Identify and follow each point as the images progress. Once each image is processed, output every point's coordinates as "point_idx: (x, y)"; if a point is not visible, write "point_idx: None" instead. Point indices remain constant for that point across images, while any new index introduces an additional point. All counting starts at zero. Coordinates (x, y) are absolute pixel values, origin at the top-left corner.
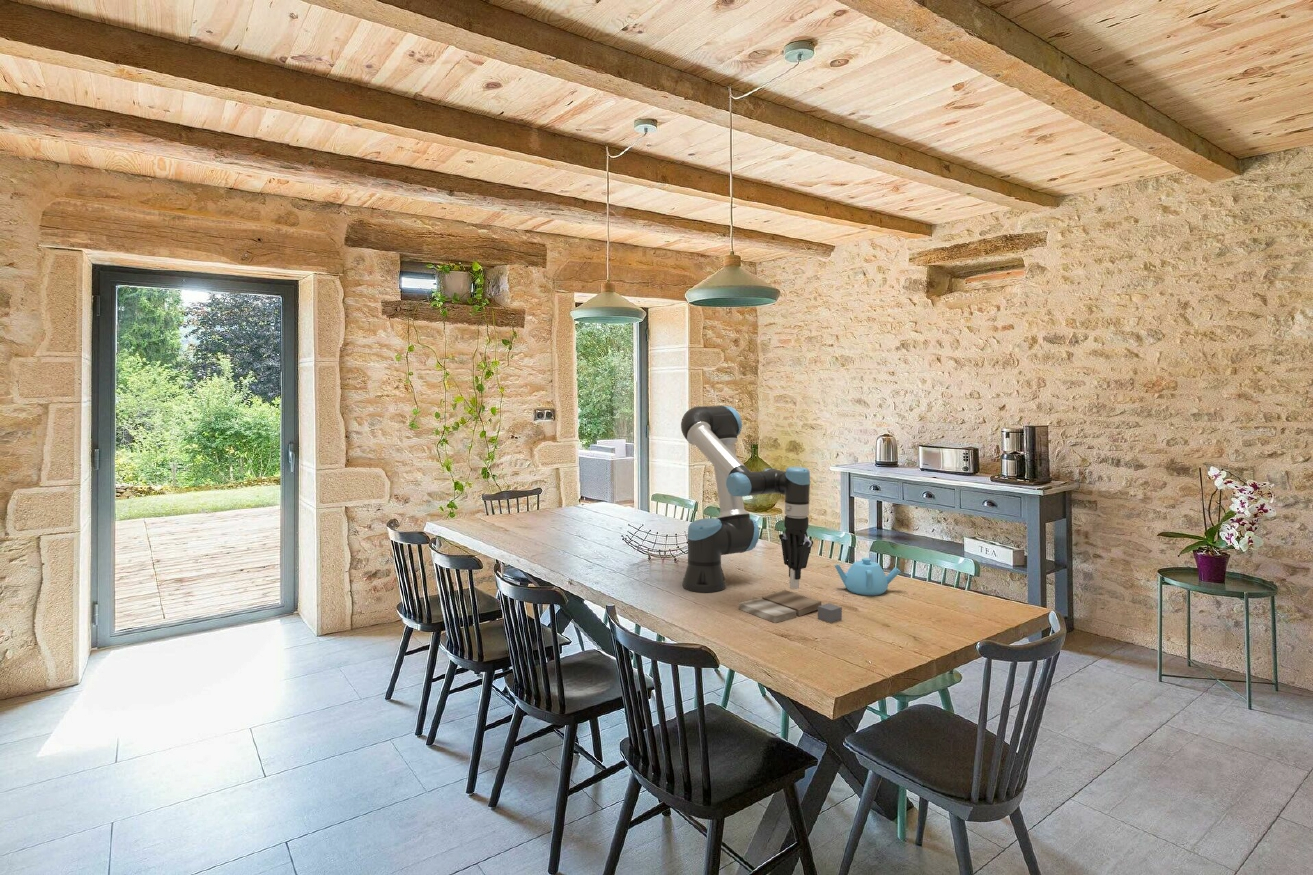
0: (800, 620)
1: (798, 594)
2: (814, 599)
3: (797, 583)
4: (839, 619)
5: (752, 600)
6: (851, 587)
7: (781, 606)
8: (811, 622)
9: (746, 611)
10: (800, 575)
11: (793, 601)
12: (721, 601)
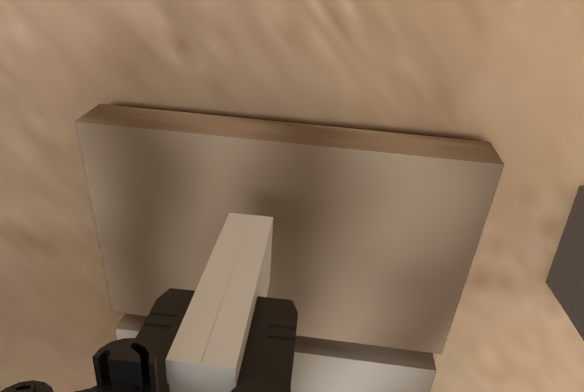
0: (478, 362)
1: (242, 141)
2: (424, 156)
3: (265, 265)
4: None
5: None
6: None
7: (317, 363)
8: (547, 351)
9: None
10: (295, 336)
11: (316, 269)
12: (2, 386)
